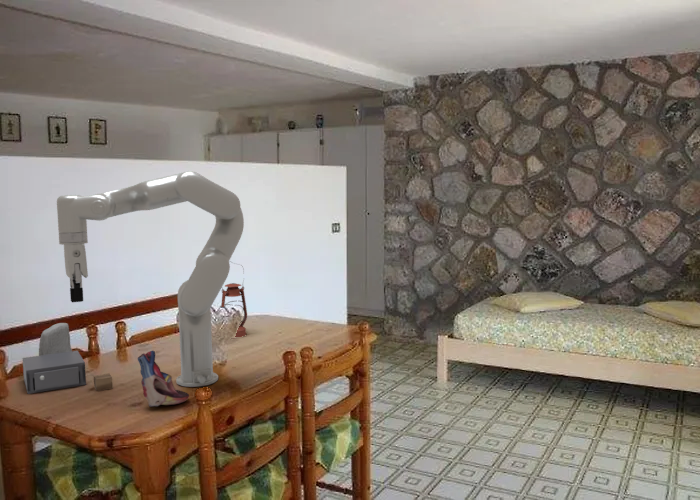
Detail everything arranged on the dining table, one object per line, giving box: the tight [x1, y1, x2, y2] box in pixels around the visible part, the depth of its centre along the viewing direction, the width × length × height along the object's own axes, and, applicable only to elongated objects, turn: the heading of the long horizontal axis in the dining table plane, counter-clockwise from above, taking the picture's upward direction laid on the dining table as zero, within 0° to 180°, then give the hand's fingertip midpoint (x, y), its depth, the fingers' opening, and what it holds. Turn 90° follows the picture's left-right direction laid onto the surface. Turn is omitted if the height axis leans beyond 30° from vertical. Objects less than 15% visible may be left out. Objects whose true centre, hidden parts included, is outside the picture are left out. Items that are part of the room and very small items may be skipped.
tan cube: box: [93, 373, 114, 392], centre depth 192 cm, size 4×4×4 cm
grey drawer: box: [33, 367, 79, 390], centre depth 197 cm, size 16×12×5 cm
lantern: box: [220, 260, 248, 338], centre depth 254 cm, size 10×10×30 cm
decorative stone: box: [38, 322, 73, 356], centre depth 213 cm, size 11×6×15 cm, turn 148°
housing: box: [22, 350, 87, 395], centre depth 198 cm, size 16×16×7 cm
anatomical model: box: [137, 350, 190, 408], centre depth 176 cm, size 9×13×15 cm
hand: (77, 301), depth 186 cm, fingers closed
